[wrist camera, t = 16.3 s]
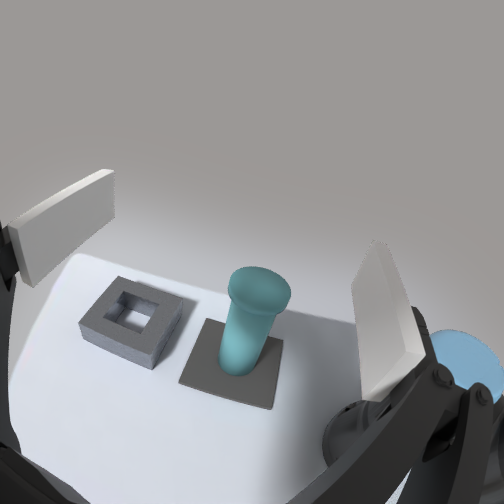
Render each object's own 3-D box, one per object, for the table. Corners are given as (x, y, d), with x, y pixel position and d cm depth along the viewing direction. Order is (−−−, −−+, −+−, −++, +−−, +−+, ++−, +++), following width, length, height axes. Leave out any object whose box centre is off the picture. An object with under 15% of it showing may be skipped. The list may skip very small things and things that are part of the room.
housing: (181, 314, 50) (182, 298, 47) (152, 370, 39) (150, 355, 37) (120, 291, 50) (118, 275, 48) (83, 338, 39) (78, 322, 37)
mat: (282, 342, 49) (283, 340, 49) (270, 409, 37) (271, 408, 37) (206, 320, 50) (206, 318, 49) (178, 383, 38) (178, 381, 38)
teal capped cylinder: (262, 349, 46) (292, 276, 38) (255, 386, 40) (288, 316, 31) (219, 336, 46) (237, 260, 38) (206, 372, 40) (222, 297, 31)
